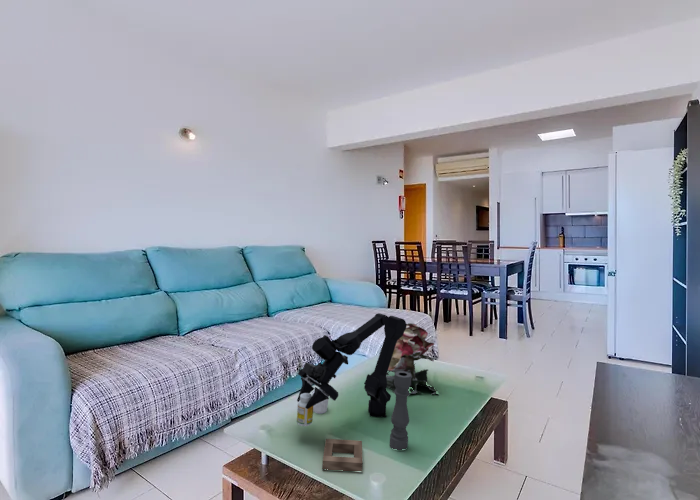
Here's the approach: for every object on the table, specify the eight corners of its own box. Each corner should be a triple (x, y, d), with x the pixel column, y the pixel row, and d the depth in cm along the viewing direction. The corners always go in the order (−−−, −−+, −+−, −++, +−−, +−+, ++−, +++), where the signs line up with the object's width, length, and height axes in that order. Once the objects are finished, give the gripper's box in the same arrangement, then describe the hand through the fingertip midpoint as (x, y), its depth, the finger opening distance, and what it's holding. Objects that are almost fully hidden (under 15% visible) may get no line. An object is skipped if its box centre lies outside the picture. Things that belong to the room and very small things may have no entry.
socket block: (361, 449, 127) (361, 440, 127) (361, 472, 115) (362, 463, 115) (325, 447, 128) (325, 438, 127) (322, 470, 116) (322, 460, 115)
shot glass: (326, 415, 149) (326, 397, 149) (309, 412, 150) (309, 395, 150) (330, 407, 156) (331, 390, 155) (314, 405, 157) (314, 388, 157)
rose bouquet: (413, 371, 200) (416, 314, 198) (445, 395, 173) (450, 330, 171) (368, 375, 191) (371, 316, 189) (394, 401, 164) (399, 332, 162)
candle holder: (387, 440, 134) (392, 370, 132) (405, 440, 134) (409, 370, 132) (391, 451, 127) (395, 377, 126) (409, 451, 128) (414, 378, 126)
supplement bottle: (297, 427, 129) (298, 399, 128) (296, 419, 134) (297, 392, 133) (313, 426, 130) (314, 398, 129) (311, 418, 135) (312, 391, 134)
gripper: (303, 346, 140) (274, 382, 134) (332, 362, 125) (301, 403, 119) (320, 363, 145) (293, 398, 140) (350, 380, 131) (322, 421, 125)
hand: (302, 404), depth 131 cm, fingers closed on supplement bottle, 5 cm apart
